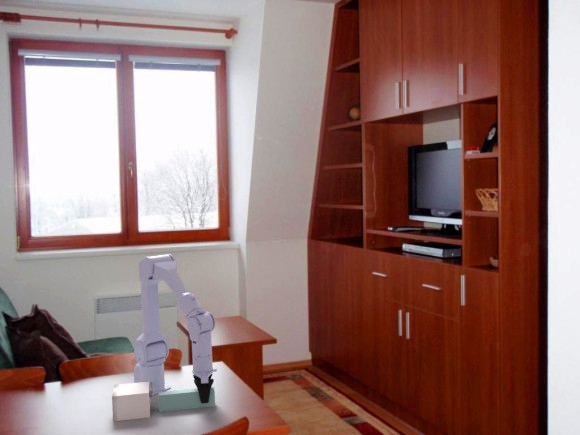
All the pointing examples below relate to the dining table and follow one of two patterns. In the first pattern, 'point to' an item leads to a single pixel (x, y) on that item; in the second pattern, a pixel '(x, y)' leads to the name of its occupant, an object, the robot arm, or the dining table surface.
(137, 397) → the white box
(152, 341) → the robot arm
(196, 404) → the mint green rectangular block
